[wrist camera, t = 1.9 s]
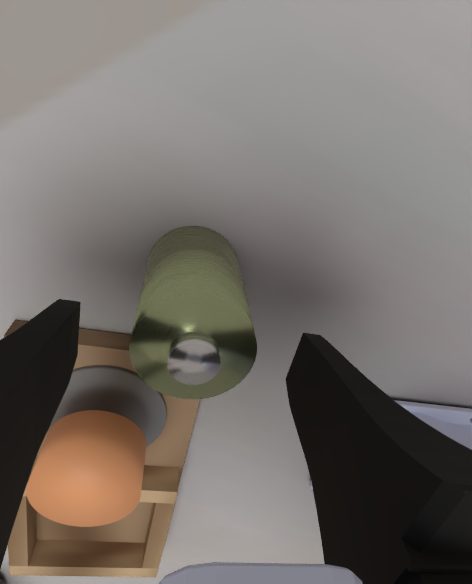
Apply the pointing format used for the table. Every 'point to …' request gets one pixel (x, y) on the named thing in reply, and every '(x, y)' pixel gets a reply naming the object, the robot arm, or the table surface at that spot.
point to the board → (156, 477)
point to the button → (88, 469)
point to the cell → (192, 317)
